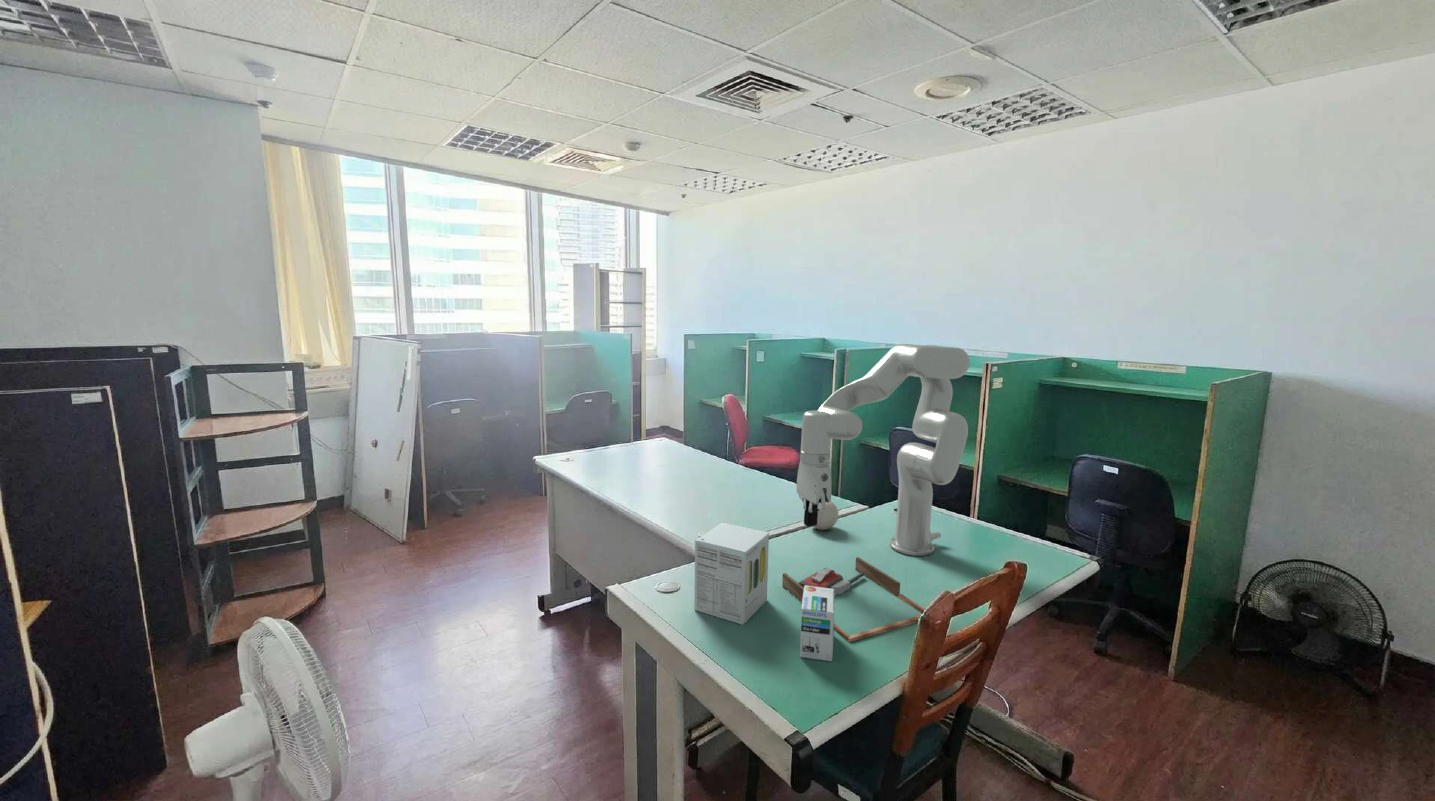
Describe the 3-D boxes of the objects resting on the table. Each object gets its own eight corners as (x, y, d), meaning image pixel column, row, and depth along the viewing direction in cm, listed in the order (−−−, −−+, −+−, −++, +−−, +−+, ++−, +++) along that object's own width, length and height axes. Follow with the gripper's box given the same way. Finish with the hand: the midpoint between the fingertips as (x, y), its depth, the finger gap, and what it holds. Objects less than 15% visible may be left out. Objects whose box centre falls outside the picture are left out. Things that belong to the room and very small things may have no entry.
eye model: (834, 536, 180) (836, 505, 178) (802, 531, 183) (803, 501, 182) (839, 525, 189) (841, 496, 187) (809, 521, 193) (810, 492, 191)
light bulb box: (832, 662, 117) (835, 613, 115) (798, 658, 118) (800, 608, 116) (833, 633, 127) (835, 587, 125) (801, 629, 128) (803, 584, 126)
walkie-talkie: (822, 607, 138) (866, 580, 152) (823, 590, 138) (867, 564, 152) (793, 594, 144) (837, 569, 159) (793, 577, 144) (838, 553, 158)
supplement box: (743, 626, 129) (745, 552, 126) (693, 610, 136) (693, 539, 133) (768, 600, 141) (770, 532, 138) (720, 586, 147) (721, 521, 144)
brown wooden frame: (857, 569, 158) (858, 557, 157) (933, 617, 134) (934, 603, 133) (782, 586, 148) (782, 573, 147) (849, 642, 124) (850, 627, 123)
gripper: (844, 464, 147) (839, 533, 150) (810, 450, 160) (806, 514, 163) (819, 466, 144) (814, 537, 147) (787, 452, 157) (783, 517, 160)
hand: (810, 524), depth 155 cm, fingers closed
